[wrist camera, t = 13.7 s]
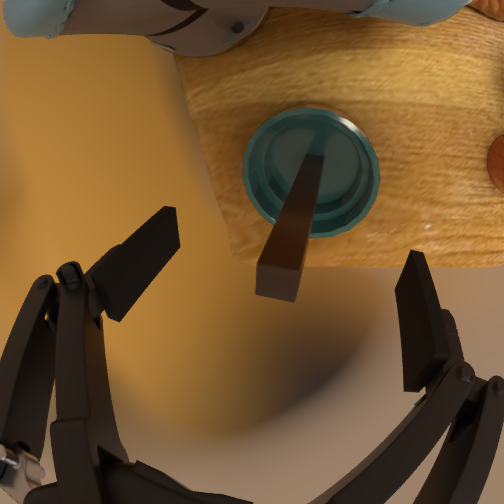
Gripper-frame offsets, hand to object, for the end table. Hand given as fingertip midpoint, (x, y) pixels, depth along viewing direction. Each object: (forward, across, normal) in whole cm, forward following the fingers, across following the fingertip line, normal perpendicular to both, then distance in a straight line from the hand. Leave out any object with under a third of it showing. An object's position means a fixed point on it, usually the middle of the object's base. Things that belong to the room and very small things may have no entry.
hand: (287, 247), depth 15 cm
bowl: (+18, 0, 0) cm, 18 cm away
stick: (+17, 0, 0) cm, 17 cm away
